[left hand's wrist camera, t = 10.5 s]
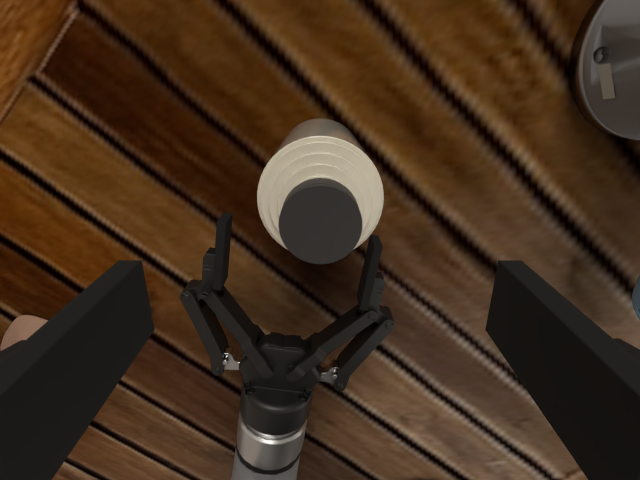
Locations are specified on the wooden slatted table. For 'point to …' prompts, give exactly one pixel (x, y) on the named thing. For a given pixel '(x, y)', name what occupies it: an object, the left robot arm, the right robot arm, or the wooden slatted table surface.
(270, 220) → the bottle
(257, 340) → the right robot arm
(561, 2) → the wooden slatted table surface
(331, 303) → the wooden slatted table surface
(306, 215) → the cap
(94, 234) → the wooden slatted table surface
